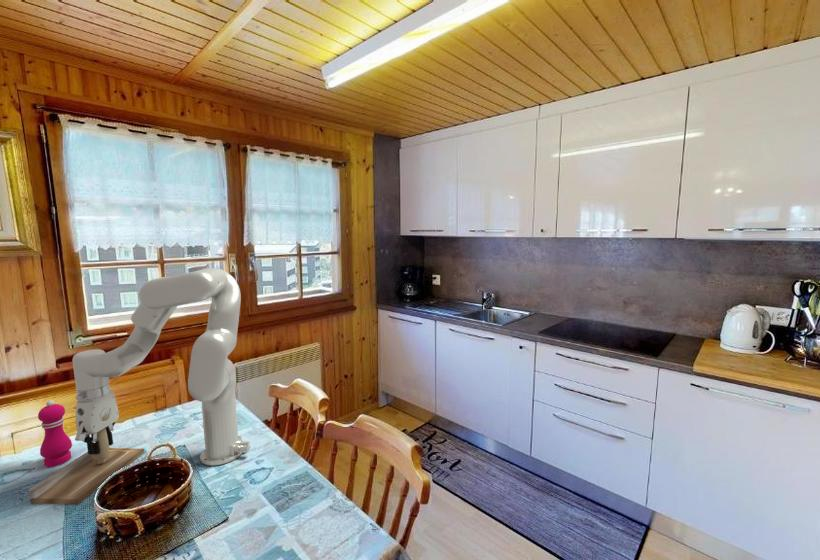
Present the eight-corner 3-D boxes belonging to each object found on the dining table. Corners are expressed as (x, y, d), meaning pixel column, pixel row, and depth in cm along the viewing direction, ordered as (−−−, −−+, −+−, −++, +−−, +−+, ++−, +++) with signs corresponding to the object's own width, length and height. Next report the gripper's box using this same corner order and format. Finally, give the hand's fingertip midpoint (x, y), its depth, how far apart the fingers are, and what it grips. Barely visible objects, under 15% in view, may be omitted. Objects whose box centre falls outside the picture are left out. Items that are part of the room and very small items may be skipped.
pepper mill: (36, 465, 113) (28, 403, 111) (65, 452, 120) (58, 394, 117) (49, 470, 111) (41, 407, 108) (78, 457, 117) (71, 397, 115)
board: (144, 452, 119) (143, 441, 119) (78, 504, 96) (76, 490, 96) (105, 452, 120) (104, 440, 119) (30, 503, 97) (28, 489, 96)
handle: (103, 467, 109) (97, 420, 107) (85, 465, 110) (79, 418, 108) (118, 458, 114) (113, 412, 112) (101, 456, 115) (96, 410, 113)
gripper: (80, 404, 101) (88, 466, 103) (128, 380, 117) (134, 434, 120) (53, 404, 101) (62, 466, 103) (105, 380, 118) (112, 434, 120)
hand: (101, 448), depth 112 cm, fingers closed on handle, 3 cm apart
